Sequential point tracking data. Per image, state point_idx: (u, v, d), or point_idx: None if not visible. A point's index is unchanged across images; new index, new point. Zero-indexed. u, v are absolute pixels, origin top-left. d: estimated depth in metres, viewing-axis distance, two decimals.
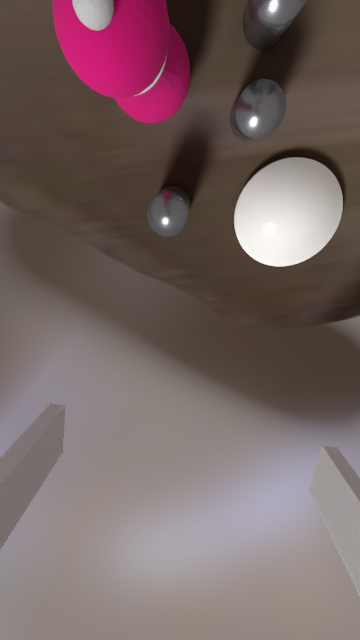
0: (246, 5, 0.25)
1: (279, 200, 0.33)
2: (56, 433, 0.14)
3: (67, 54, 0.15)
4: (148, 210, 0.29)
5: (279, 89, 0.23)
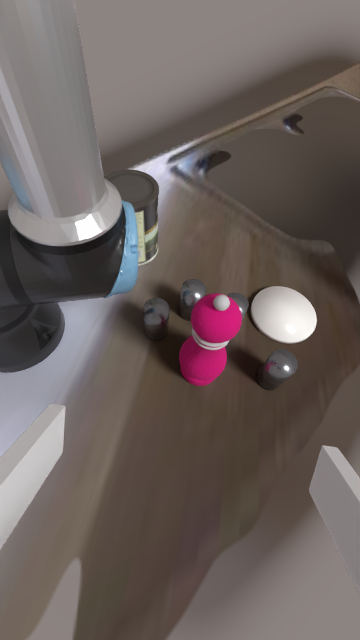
0: (185, 314, 0.51)
1: (274, 315, 0.54)
2: (56, 433, 0.14)
3: (226, 330, 0.32)
4: (279, 372, 0.41)
5: (229, 294, 0.48)
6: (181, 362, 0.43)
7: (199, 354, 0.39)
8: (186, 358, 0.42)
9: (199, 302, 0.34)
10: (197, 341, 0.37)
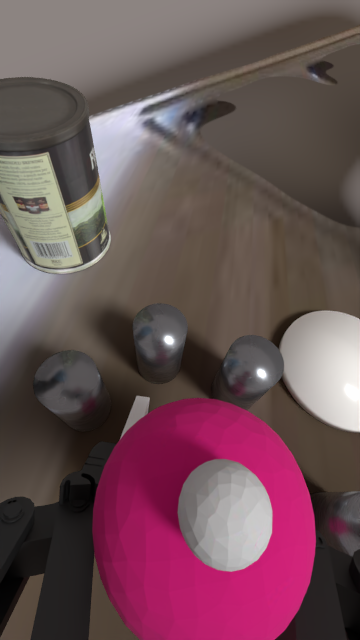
0: (147, 374, 0.25)
1: (325, 370, 0.27)
2: None
3: None
4: None
5: (240, 339, 0.21)
6: None
7: None
8: None
9: (122, 459, 0.07)
10: None
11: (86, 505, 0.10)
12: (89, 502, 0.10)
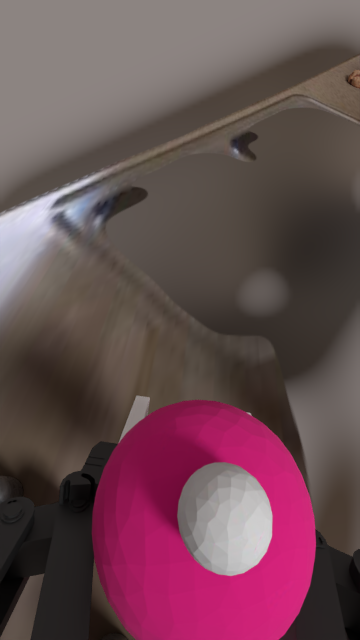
0: None
1: None
2: None
3: None
4: None
5: None
6: None
7: None
8: None
9: (121, 462, 0.07)
10: None
11: (86, 505, 0.10)
12: (89, 502, 0.10)
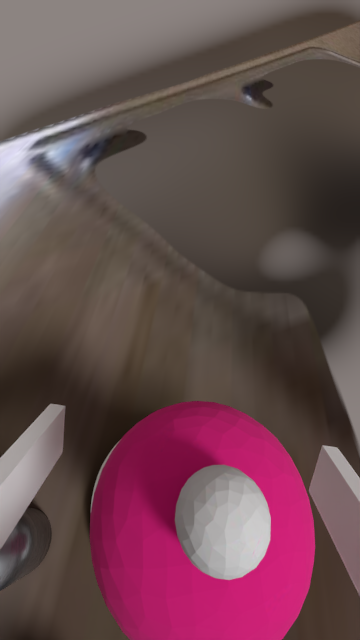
0: None
1: None
2: (56, 433, 0.14)
3: None
4: None
5: None
6: None
7: None
8: None
9: (119, 464, 0.07)
10: None
11: None
12: None
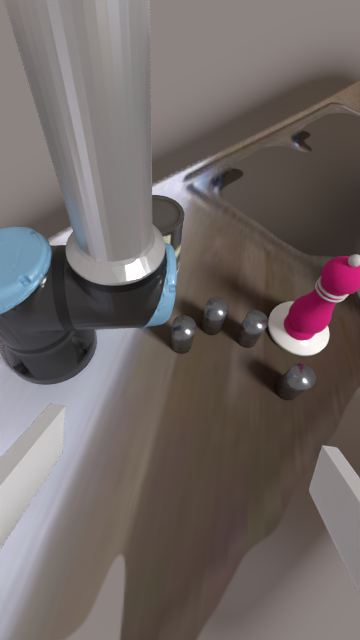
0: (207, 329, 0.55)
1: None
2: (56, 433, 0.14)
3: (357, 282, 0.42)
4: (299, 385, 0.45)
5: (250, 311, 0.52)
6: (294, 318, 0.53)
7: (317, 308, 0.49)
8: (301, 314, 0.52)
9: (332, 262, 0.43)
10: (322, 295, 0.46)
11: None
12: None
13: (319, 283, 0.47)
